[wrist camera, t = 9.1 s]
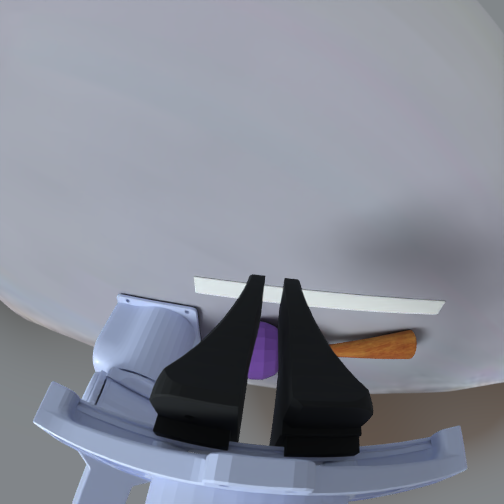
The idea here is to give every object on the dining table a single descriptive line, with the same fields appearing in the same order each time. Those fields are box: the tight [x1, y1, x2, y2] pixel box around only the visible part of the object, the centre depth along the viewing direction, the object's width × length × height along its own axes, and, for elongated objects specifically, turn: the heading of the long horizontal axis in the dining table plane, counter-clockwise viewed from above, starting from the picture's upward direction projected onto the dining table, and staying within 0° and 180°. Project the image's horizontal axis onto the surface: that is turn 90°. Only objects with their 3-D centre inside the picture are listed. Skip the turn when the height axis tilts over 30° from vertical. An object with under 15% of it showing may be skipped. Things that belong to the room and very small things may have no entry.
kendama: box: [248, 322, 417, 380], centre depth 27 cm, size 6×6×20 cm
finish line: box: [194, 276, 445, 315], centre depth 26 cm, size 26×2×1 cm, turn 87°
